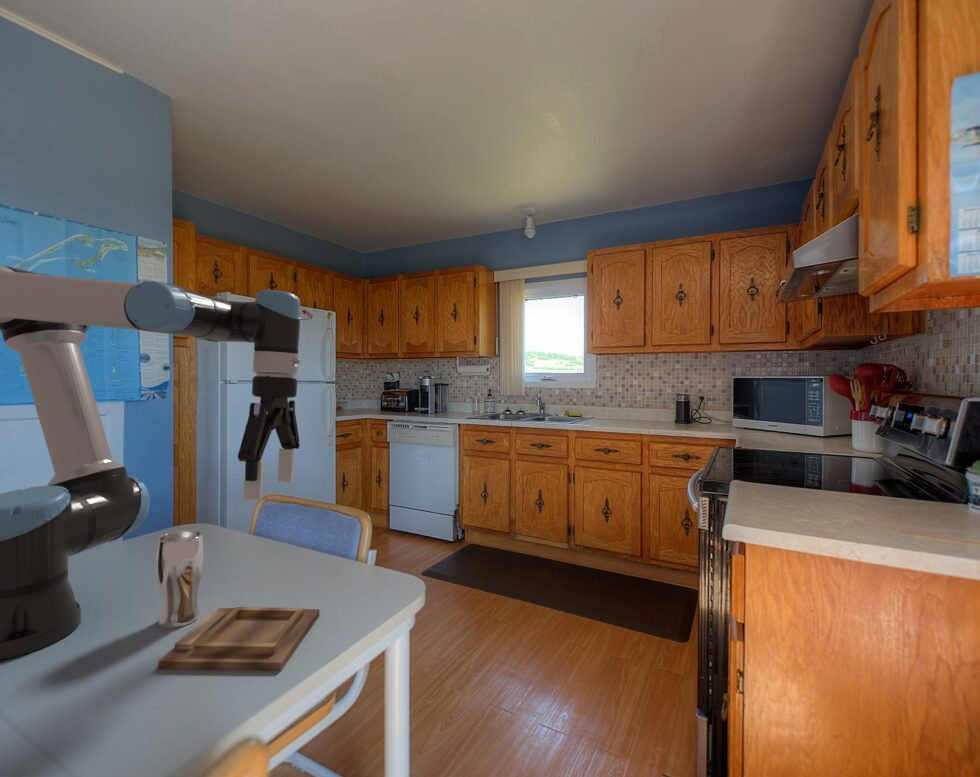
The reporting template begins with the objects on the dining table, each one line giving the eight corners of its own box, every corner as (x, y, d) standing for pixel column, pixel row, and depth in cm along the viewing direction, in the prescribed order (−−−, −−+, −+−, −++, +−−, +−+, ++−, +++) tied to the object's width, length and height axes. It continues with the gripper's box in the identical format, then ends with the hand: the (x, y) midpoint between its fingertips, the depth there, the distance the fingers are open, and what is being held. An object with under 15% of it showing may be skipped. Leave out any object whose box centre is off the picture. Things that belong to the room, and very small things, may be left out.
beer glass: (178, 632, 77) (180, 544, 77) (144, 627, 79) (146, 540, 78) (211, 612, 84) (213, 531, 84) (179, 608, 85) (181, 527, 85)
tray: (158, 669, 67) (158, 653, 67) (220, 614, 83) (220, 601, 83) (281, 670, 68) (281, 654, 68) (319, 615, 84) (319, 602, 84)
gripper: (265, 376, 73) (259, 508, 73) (318, 377, 98) (313, 476, 98) (217, 373, 72) (211, 506, 73) (282, 375, 97) (278, 474, 98)
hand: (270, 489), depth 85 cm, fingers open, 13 cm apart
